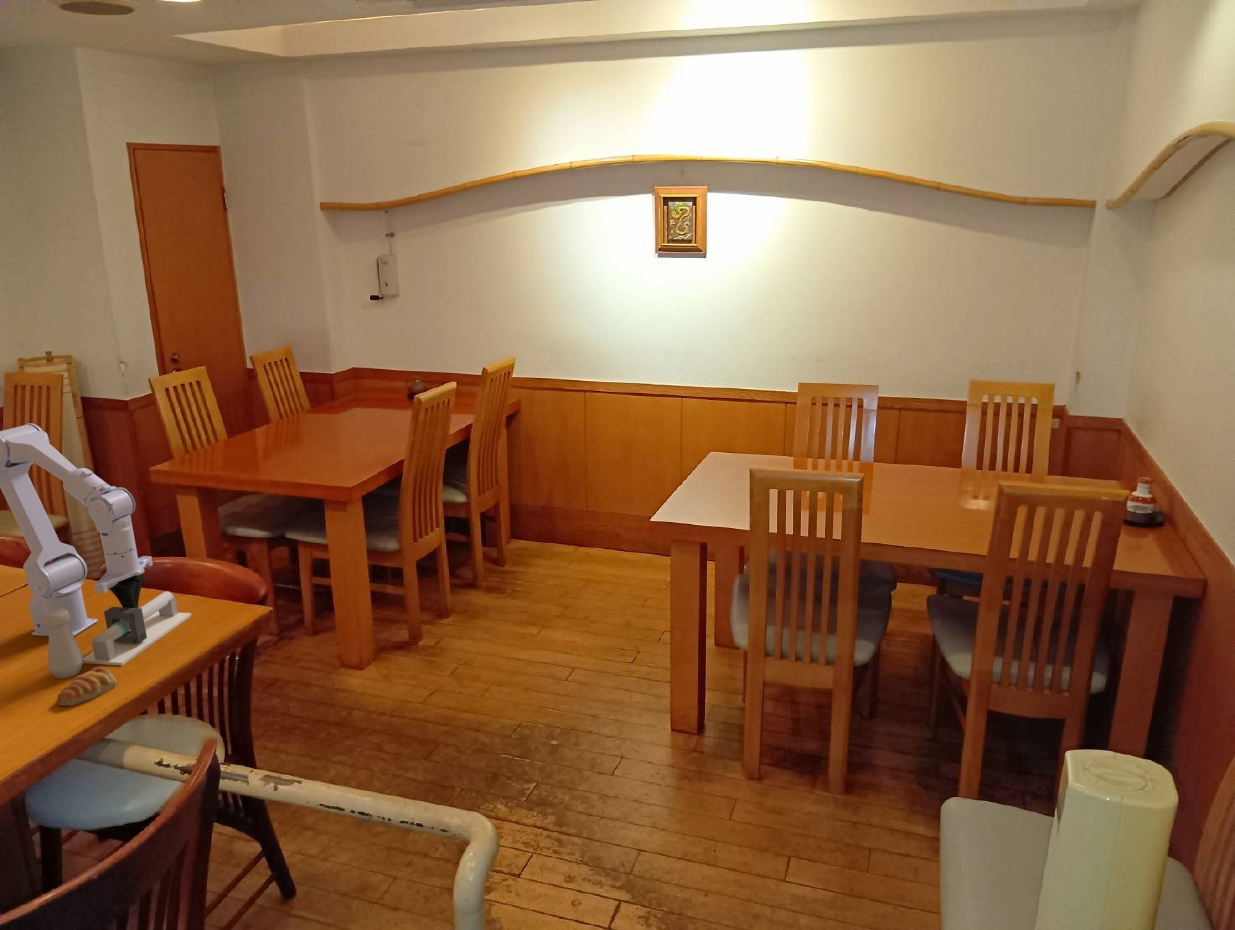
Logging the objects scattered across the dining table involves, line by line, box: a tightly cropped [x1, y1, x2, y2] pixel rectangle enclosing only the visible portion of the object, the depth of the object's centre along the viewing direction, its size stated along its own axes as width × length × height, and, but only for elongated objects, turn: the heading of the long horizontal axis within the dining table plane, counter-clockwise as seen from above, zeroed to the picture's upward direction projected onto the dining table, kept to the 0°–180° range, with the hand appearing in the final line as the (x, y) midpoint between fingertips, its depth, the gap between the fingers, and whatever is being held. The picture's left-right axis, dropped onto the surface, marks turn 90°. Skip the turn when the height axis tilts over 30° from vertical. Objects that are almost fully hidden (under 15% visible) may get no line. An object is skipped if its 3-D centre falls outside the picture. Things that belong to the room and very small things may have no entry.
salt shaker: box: [43, 609, 84, 680], centre depth 165 cm, size 6×6×13 cm
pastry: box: [57, 666, 117, 707], centre depth 159 cm, size 9×7×4 cm
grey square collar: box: [103, 606, 147, 643], centre depth 177 cm, size 2×7×7 cm, turn 82°
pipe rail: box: [83, 591, 192, 666], centre depth 180 cm, size 22×9×6 cm, turn 172°
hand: (131, 611), depth 178 cm, fingers closed
